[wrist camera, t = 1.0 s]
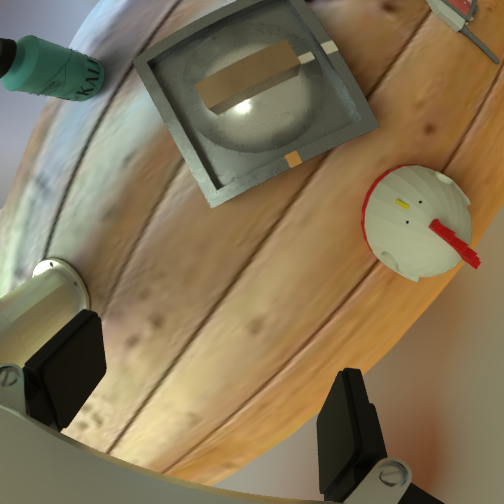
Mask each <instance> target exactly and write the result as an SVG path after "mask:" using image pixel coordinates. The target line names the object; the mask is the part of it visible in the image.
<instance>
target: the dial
mask: <svg viewBox="0 0 504 504" xmlns="http://www.w3.org/2000/svg"><path fill="white" fill-rule="evenodd" d="M181 96H182V102H183V106H184V109H185V112H186V114H187V116H188V118H189V120H190V121H191V123H192V124H193V126H194V127H195V128H196V129H197V130H198V131H199V132H200V133H201V134H202V135H203V136H204V137H205V138H207V139H208V140H210V141H211V142H213V143H215V144H217V145H219V146H221V147H223V148H226V149H229V150H233V151H237V152H246V153H259V152H266V151H270V150H274V149H277V148H280V147H282V146H285V145H287V144H288V143H290V142H292V141H294V140H295V139H296V138H298V137H299V136H300V135H301V134H303V133H304V132H305V131H306V130H307V129H308V127H309V126H310V125H311V124H312V122H313V121H314V119H315V118H316V116H317V114H318V112H319V110H320V107H321V104H322V100H323V96H324V78H323V73H322V69H321V66H320V64H319V61H318V59H317V58H316V56H315V54H314V53H313V51H312V50H311V49H310V47H309V46H308V45H307V44H306V43H305V42H304V41H303V40H302V39H300V38H299V37H298V36H297V35H295V34H293V33H292V32H290V31H288V30H286V29H284V28H281V27H278V26H275V25H272V24H266V23H257V22H251V23H241V24H236V25H232V26H229V27H226V28H224V29H221V30H219V31H217V32H216V33H214V34H212V35H211V36H209V37H208V38H207V39H205V40H204V41H203V42H202V43H201V44H200V45H199V46H198V47H197V48H196V49H195V51H194V52H193V53H192V55H191V56H190V58H189V60H188V62H187V64H186V66H185V69H184V72H183V76H182V82H181Z"/></svg>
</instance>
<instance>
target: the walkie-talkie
mask: <svg viewBox="0 0 504 504" xmlns="http://www.w3.org/2000/svg"><path fill="white" fill-rule="evenodd" d="M426 1H427V3H428V4H429V6H430V8H431V9H432V11H433V13H434V14H435V15H436V16H437V17H438V18H440V19H441V20H442V21H443V22H445V23H446V24H447V25H448V26H450V27H451V28H452V30H453V31H455V32H457V31H459V30H460V31H461V32H462V33H463V34H464V35H466V36H467V37H469V38H470V39H471V40H472V41H473V42H474V43H475V44H476V45H477V46H478V47H479V48H480V49H481V50H482V51H483V52H485V53H486V54H487V55H488V56H489V57H490V58H491V59H492V60H493V61H494V62H495V63H496V64H498V63H499V59H498V58H497V57H496V56H495V55H494V54H493V53H492V52H491V51H490V50H489V49H488V48H487V47H486V46H485V45H484V44H483V43H482V42H481V41H480V40H479V39H478V38H477V37H476V36H474V35H473V34H472V33H471V32H470V31H469V29H468V28H467V27H466V26H467V25H468V22H467V21H469V20H470V21H472V20H473V17H471V16H472V15H473V14H475V13H476V12H477V10H478V6H477V5H476V3H477V0H426ZM464 25H465V26H464Z"/></svg>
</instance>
